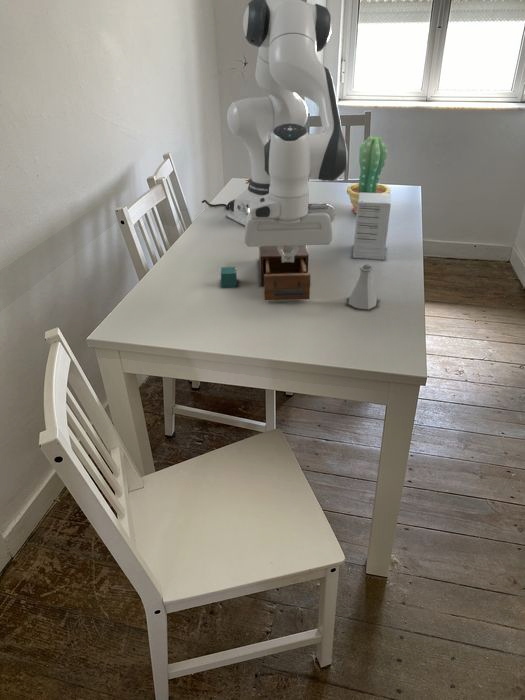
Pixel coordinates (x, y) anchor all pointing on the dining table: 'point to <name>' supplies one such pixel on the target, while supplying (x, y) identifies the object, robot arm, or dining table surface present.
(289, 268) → the drawer
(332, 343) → the dining table surface
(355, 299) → the flask
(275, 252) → the cabinet
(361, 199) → the supplement box
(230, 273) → the block
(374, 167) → the potted cactus
